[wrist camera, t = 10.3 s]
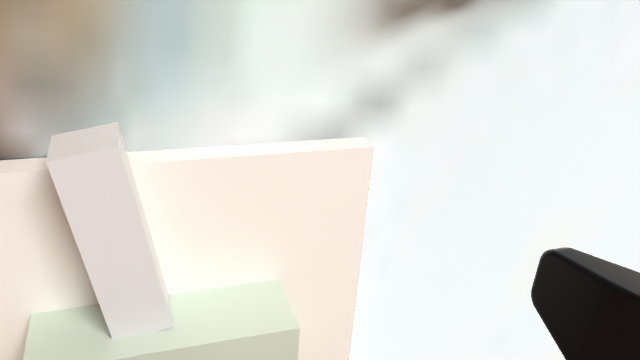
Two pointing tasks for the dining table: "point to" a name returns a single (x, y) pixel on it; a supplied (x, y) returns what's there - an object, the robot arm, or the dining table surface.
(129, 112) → the dining table surface
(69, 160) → the shaft mount
